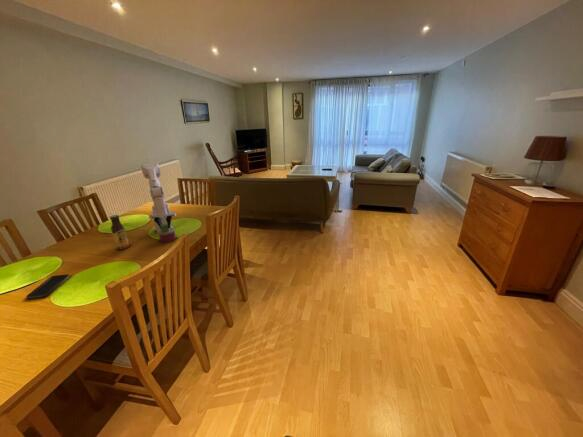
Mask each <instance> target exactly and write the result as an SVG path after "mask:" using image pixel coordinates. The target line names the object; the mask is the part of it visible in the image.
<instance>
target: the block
mask: <svg viewBox="0 0 583 437" xmlns="http://www.w3.org/2000/svg"><path fill="white" fill-rule="evenodd" d="M160 227H161V231H162V232H166V231H169V230H170V228H168V223H162V224H161V226H160Z"/></svg>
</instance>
